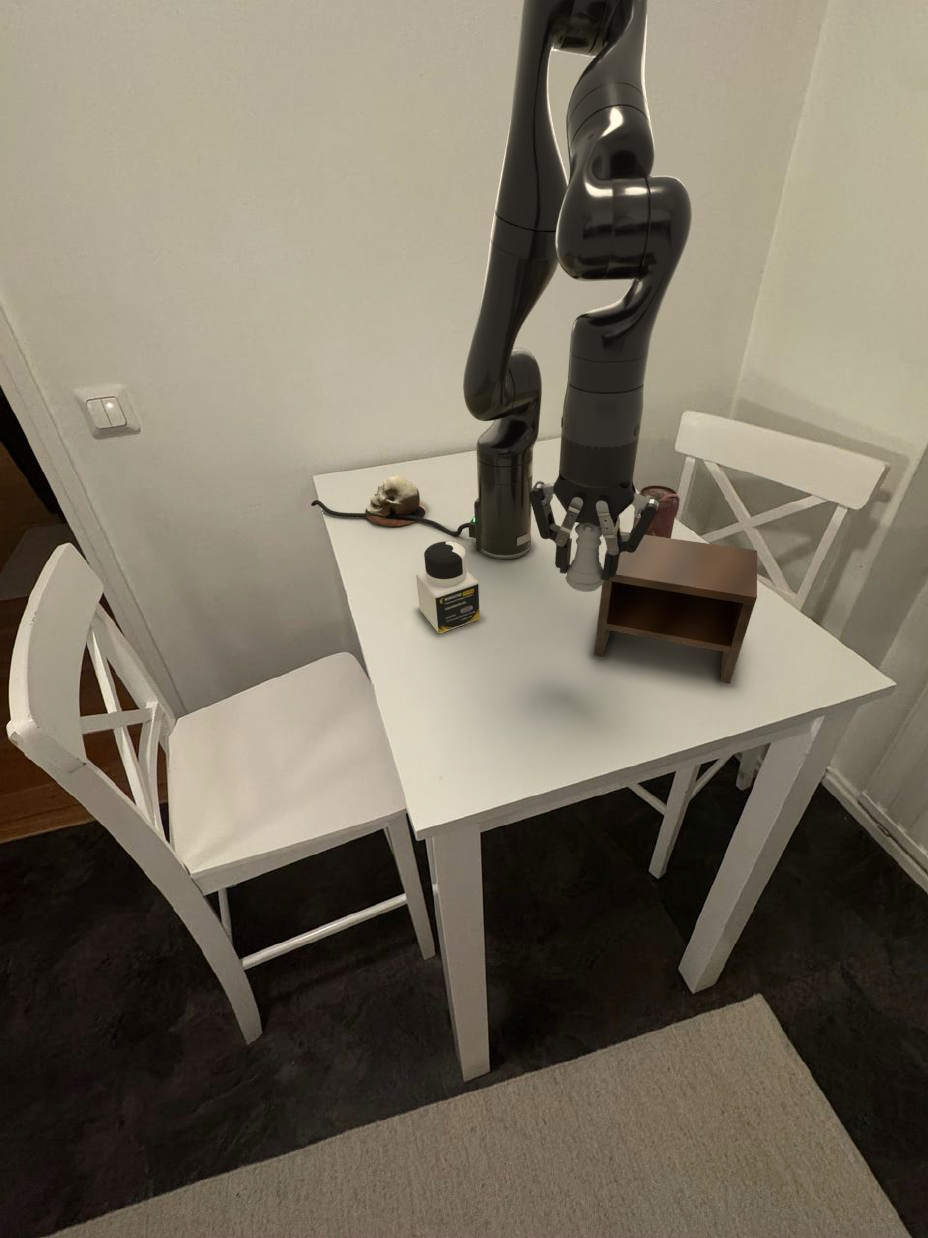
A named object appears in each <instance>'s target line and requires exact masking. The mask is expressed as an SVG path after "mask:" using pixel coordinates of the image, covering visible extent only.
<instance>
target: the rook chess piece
mask: <svg viewBox="0 0 928 1238" xmlns="http://www.w3.org/2000/svg"><path fill="white" fill-rule="evenodd" d="M574 531H575V533H576V535H577V536H578V537H576V539H575V544H576V549H575V550H576V551H575V554H574V559H573V560H572V561H571V562H570V565H569V567H568V569H567V573H566V574H565V575H566V576H565V577H564V578H565V581H566V584H567V585H568V586H569V587H570V588H572V589H573V590H575V591H577V592H583V593H588V592H589V593H590V592H594V591H596V590H598V589H600V588H601V587H602V585H603V583H604V581H603V580H602V576H603V568H604V566H602V563H601V560H600V547H601V545H602V542H603V541H602V539H601V537H603V534H602V529H601V526H597V525H594V524H591V523H577V525H575V527H574Z"/></svg>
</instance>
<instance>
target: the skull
mask: <svg viewBox="0 0 928 1238" xmlns="http://www.w3.org/2000/svg"><path fill="white" fill-rule="evenodd" d="M369 499H370V503H369V504H368V505H367V506H366V508H365V511H364V513H372V514H375V515H378V516H368V515H366V516H367V517H368V518H367V519H368V520H370V521H371V522H372V523H375V524H376V525H381V526H383V527H385V526H391V527H400V526H405V525H410V524H411V525H412V524H413V523H416V522H417V521H415V520H410V519H404V518H399V517H394V516H393V515H403V514H406V515H412V516H417V517H421V518H424V516H425V515H426V508H425V506H424V504H422V502H420V501H421V497H420V491H419V488H418V487H417V485H416V484H414V482H412V481H411V480H409V479H408V478H406V477H404V476H402V475H392V476H389V477H387V478H385V479H384V480H383V481H382V484H380V485H378V487H377V489H376V491H374V494H373V495H372V496H371V497H370V498H369Z"/></svg>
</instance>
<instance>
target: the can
mask: <svg viewBox="0 0 928 1238" xmlns="http://www.w3.org/2000/svg"><path fill="white" fill-rule="evenodd" d="M638 494H640V495H642V496H644V497H647V498H650V497H651V496H656V497H658V498H659V500H660V503H659V506H658V510H657V513H656V515H655V517H654V519H653V521H652V522H651V524H650V526H649V528H648V529H647V531H646V533H645V535H650V536H657V537H665V538H672V535H673V529H674V524H675V520H676V517H677V516H678V513H679V508H680V500H681V498H680V496H679V495H678V494H677V492H676V491H675V490H674V489H672V487H668V486H664V485H655V484H654V485H648V486H644V487H642V488H641V490H640V492H639V493H638ZM637 519H638V518H637V517H635V515H634V516H633V522H632V527H633V526H634V525H635V523H636V521H637Z"/></svg>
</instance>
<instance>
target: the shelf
mask: <svg viewBox="0 0 928 1238" xmlns="http://www.w3.org/2000/svg"><path fill="white" fill-rule="evenodd" d="M629 534H630V532H629V531H628V532H627V531H622V530H621V535H622V536H625V535H629ZM757 599H758V550H756V549H750V548H749V549H748V548H742V547H735V546H729V545H722V544H721V545H720V544H715V543H714V544H713V543H707V542H700V541H694V540H693V541H692V540H687V539H679V538H678V539H677V538H672V537H671V538H665V537H657V536H650V535H644V537H643V538H642V540H641V542H640V544H639V545H638V547H637V549H636V551H635V552H633V553H629V552H627V551H625V552H621V553H620V557H619V564H618V569H617V572H616V575H615V576H614V578H613V577H610V578H609V581H604V583H603V585H602V586H601V591H600V599H599V608H598V618H597V625H596V634H595V643H594V650H593V656H597V657H601V658H602V657H603V656H604V653H605V650H606V646H607V643H608V640H609V636H610V634H611V631H614V632H618V633H623V634H629V635H634V636H639V637H645V638H649V639H655V640H661V641H666V642H671V643H677V644H682V645H687V646H692V647H697V648H703V649H708V650H713V651H718V652H722V655H721V657H722V658H721V669H720V682H723V683H729V684H730V683H732V678H733V675H734V673H735V669H736V665H737V663H738V659H739V656H740V653H741V651H742V650H741V649H742V647H743V643H744V640H745V636H746V634H747V630H748V628H749V624H750V622H751V618H752V614H753V611H754V608H755V605H756V602H757Z"/></svg>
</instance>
